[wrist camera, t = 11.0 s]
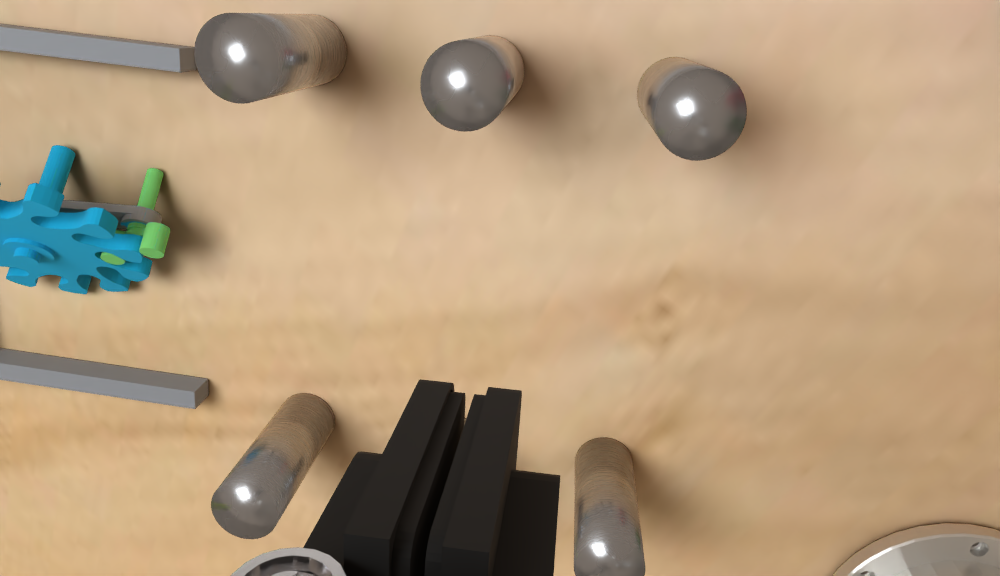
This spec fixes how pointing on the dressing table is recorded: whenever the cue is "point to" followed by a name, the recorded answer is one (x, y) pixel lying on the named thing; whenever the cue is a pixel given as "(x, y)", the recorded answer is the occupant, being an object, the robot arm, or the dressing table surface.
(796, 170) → the dressing table surface
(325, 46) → the spacer posts
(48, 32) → the frame
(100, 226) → the gear
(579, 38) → the dressing table surface
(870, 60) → the dressing table surface
